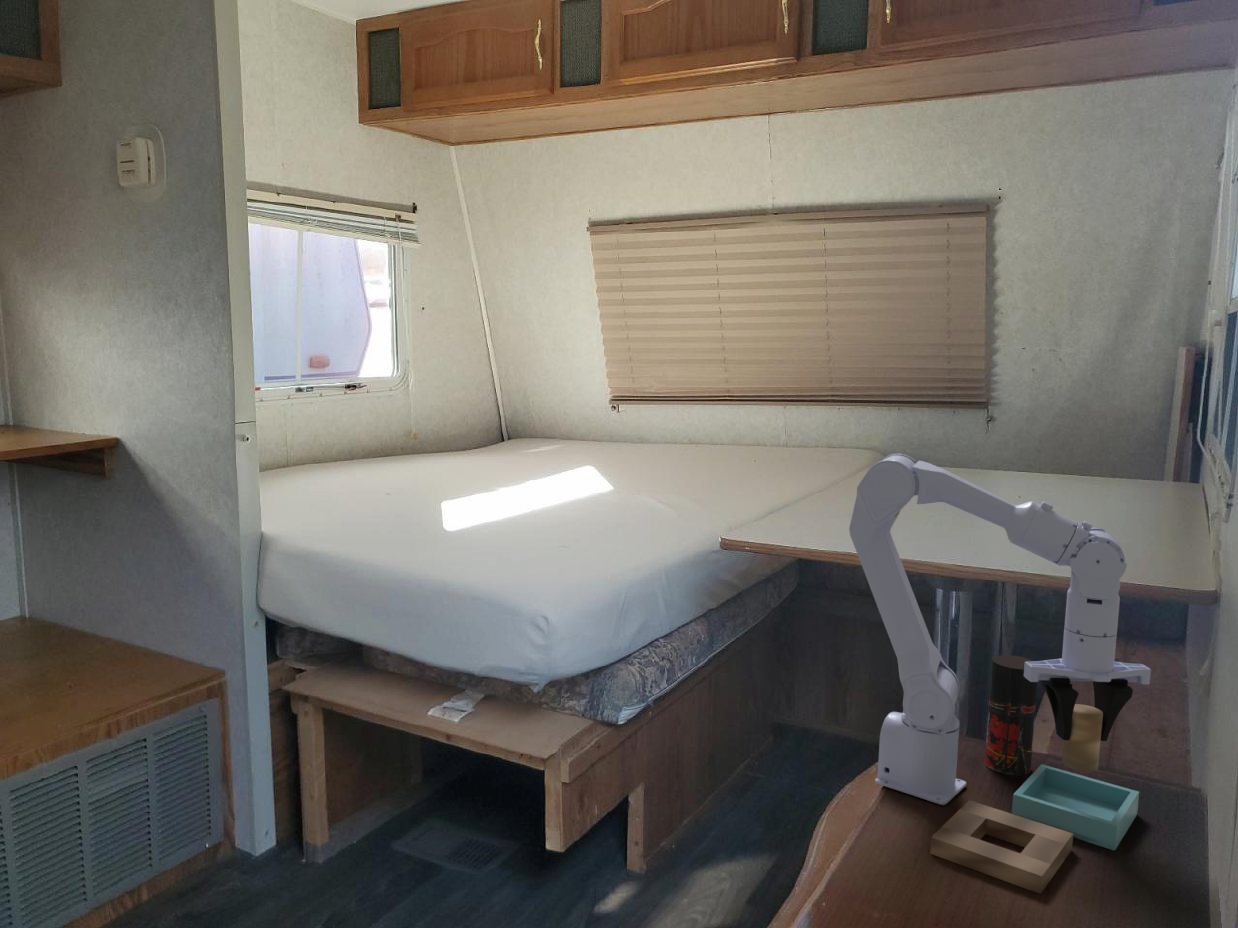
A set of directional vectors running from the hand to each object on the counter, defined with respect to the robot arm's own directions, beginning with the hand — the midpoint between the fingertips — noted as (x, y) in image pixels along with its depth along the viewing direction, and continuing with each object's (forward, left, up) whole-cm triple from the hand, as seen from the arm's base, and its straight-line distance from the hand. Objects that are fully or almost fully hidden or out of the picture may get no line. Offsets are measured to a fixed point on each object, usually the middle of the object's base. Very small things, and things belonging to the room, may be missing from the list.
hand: (1081, 737), depth 116 cm
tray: (0, 0, -10) cm, 10 cm away
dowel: (0, 0, -3) cm, 3 cm away
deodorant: (-11, +9, -10) cm, 18 cm away
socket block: (-4, -15, -10) cm, 19 cm away
